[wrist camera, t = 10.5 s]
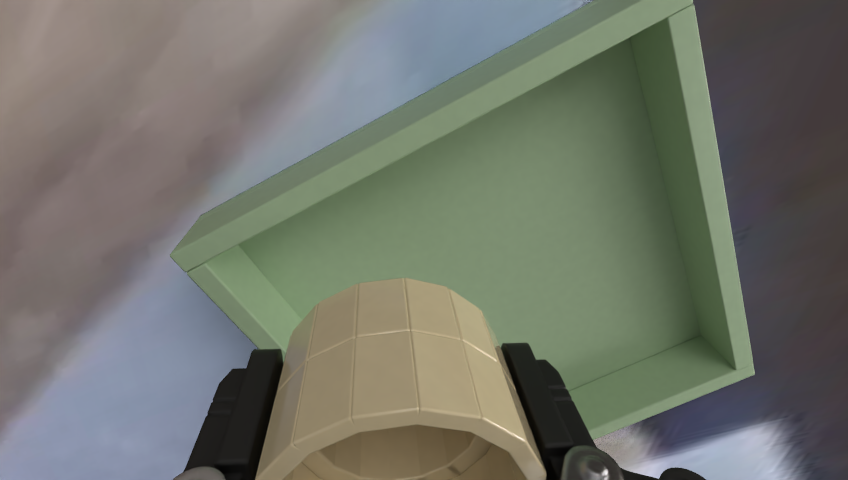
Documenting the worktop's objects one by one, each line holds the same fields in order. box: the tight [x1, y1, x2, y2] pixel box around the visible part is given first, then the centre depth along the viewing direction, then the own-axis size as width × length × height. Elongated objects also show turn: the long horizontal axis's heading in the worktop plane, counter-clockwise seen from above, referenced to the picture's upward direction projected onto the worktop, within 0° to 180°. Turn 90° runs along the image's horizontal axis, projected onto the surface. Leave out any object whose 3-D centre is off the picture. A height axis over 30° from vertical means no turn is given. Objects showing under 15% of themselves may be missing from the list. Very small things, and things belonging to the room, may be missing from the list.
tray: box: [170, 0, 755, 440], centre depth 19 cm, size 18×18×3 cm
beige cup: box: [255, 278, 547, 480], centre depth 12 cm, size 6×6×5 cm
